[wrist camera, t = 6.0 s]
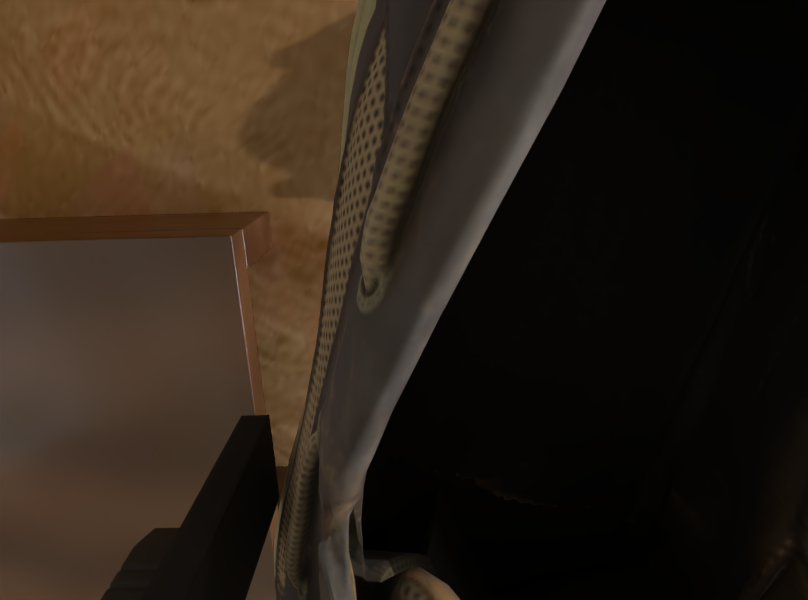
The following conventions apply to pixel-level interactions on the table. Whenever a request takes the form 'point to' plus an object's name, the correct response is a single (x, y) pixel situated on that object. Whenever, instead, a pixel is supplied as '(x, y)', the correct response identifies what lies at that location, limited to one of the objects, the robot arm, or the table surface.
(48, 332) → the small wooden pallet
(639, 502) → the boat shoe
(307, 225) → the table surface
